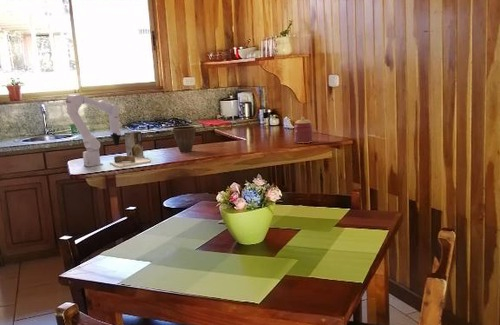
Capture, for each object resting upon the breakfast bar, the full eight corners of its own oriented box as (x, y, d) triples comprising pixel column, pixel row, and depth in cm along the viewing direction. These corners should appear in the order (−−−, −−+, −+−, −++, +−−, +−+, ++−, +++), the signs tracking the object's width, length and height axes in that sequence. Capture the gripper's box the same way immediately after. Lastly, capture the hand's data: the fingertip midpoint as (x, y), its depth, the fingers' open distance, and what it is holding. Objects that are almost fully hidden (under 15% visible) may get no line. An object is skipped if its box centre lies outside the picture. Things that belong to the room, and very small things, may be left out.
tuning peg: (113, 162, 311) (112, 156, 310) (116, 160, 315) (116, 155, 314) (132, 162, 307) (132, 156, 307) (136, 160, 312) (135, 155, 311)
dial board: (118, 167, 301) (118, 165, 300) (110, 163, 314) (109, 161, 314) (150, 162, 311) (150, 160, 311) (141, 158, 324) (140, 156, 324)
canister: (313, 140, 359) (312, 115, 355) (313, 143, 346) (312, 117, 342) (294, 141, 360) (293, 116, 356) (294, 144, 347) (293, 118, 344)
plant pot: (201, 150, 341) (199, 126, 338) (182, 154, 332) (180, 129, 329) (188, 148, 353) (187, 125, 349) (170, 152, 343) (168, 128, 340)
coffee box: (137, 155, 338) (135, 130, 335) (143, 155, 334) (141, 131, 331) (126, 157, 331) (123, 132, 328) (132, 158, 327) (130, 133, 324)
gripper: (124, 123, 316) (126, 145, 319) (116, 122, 328) (118, 143, 331) (113, 125, 312) (115, 147, 315) (105, 123, 324) (108, 144, 327)
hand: (116, 145), depth 323 cm, fingers closed
